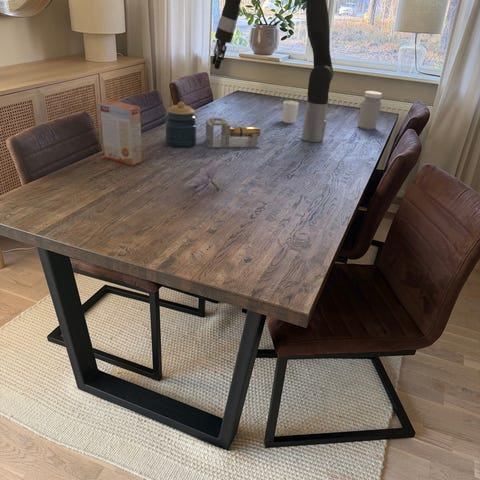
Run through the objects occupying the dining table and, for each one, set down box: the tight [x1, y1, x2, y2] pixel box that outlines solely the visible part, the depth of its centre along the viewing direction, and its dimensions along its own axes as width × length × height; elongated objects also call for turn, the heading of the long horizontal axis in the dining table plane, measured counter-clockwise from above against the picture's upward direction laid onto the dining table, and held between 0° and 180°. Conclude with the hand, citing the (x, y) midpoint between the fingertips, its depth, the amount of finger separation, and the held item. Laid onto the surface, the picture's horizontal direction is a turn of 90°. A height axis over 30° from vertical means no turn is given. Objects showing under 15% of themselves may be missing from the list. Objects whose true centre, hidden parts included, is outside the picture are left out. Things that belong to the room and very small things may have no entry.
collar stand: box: [204, 117, 260, 149], centre depth 190 cm, size 22×11×10 cm, turn 103°
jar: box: [356, 90, 383, 131], centre depth 228 cm, size 10×10×18 cm
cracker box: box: [99, 100, 143, 166], centre depth 161 cm, size 14×6×21 cm, turn 59°
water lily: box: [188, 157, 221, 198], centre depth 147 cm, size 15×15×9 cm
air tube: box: [229, 126, 261, 138], centre depth 191 cm, size 13×4×4 cm, turn 103°
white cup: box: [282, 100, 300, 124], centre depth 229 cm, size 8×8×10 cm
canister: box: [164, 101, 197, 149], centre depth 184 cm, size 13×13×18 cm
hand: (215, 66), depth 200 cm, fingers open, 8 cm apart
